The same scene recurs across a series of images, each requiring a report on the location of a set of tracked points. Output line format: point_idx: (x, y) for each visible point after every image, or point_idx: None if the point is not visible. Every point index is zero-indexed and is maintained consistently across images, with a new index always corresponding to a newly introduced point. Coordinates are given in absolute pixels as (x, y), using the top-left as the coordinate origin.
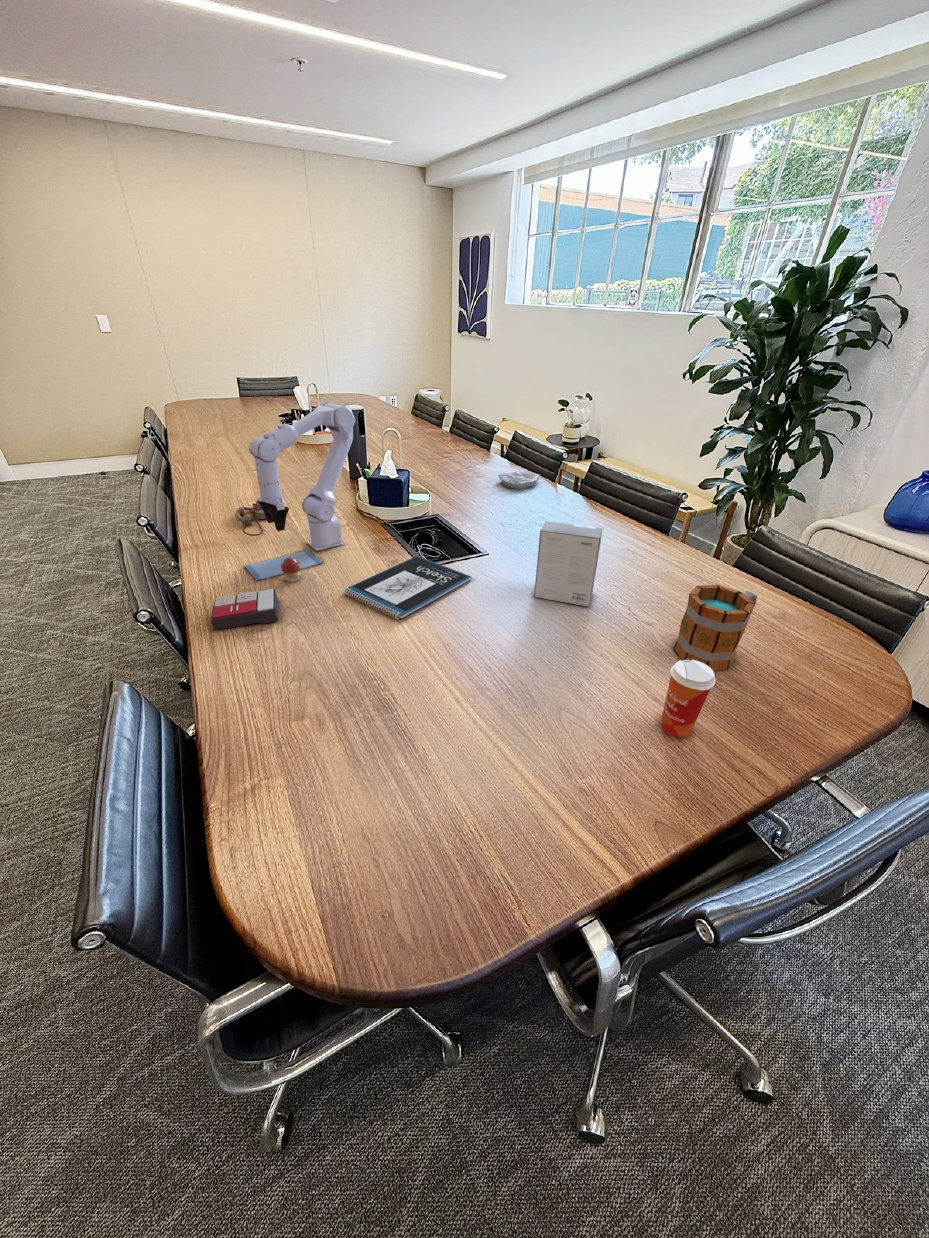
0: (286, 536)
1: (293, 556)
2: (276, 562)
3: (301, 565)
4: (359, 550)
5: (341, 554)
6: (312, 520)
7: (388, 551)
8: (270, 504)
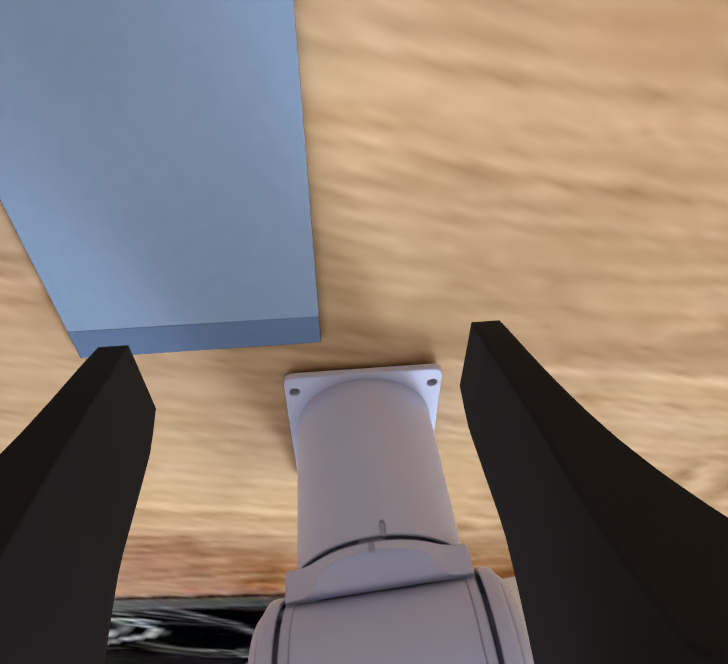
0: (639, 296)
1: (265, 243)
2: (205, 90)
3: (71, 244)
4: (196, 505)
5: (181, 447)
6: (347, 564)
7: (134, 565)
8: (562, 644)
